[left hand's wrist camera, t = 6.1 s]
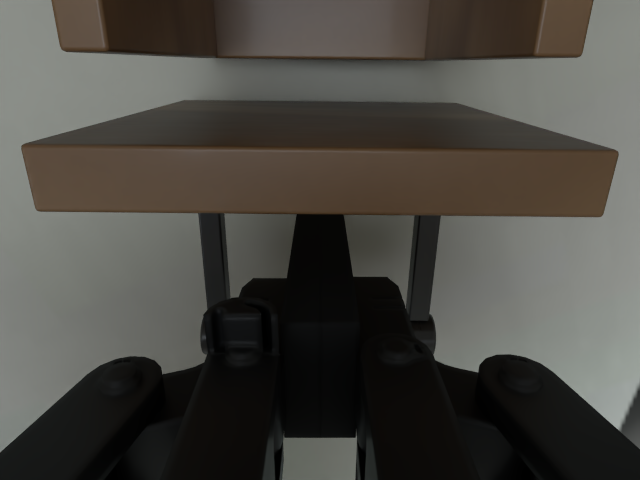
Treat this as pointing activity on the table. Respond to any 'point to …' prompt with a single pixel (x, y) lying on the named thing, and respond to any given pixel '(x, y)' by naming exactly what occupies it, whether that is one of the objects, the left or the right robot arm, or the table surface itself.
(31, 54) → the table surface
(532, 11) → the drawer
